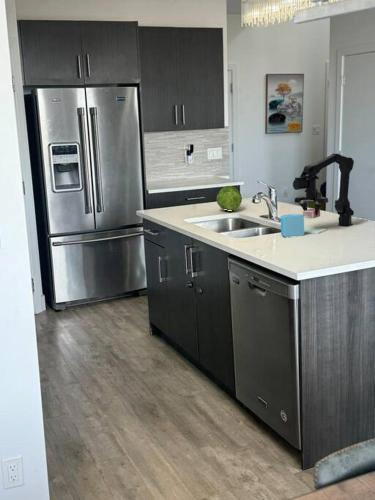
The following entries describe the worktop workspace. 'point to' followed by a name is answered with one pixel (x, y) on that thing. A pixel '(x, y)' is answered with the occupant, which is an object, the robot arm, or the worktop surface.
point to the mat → (314, 230)
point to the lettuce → (229, 198)
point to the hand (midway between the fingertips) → (311, 215)
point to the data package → (292, 225)
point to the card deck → (310, 214)
